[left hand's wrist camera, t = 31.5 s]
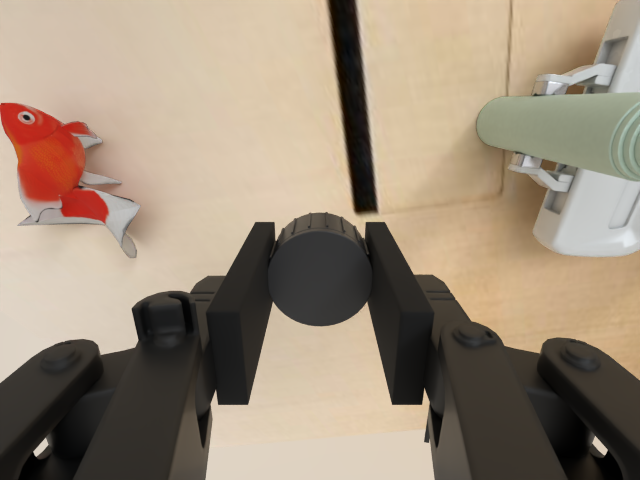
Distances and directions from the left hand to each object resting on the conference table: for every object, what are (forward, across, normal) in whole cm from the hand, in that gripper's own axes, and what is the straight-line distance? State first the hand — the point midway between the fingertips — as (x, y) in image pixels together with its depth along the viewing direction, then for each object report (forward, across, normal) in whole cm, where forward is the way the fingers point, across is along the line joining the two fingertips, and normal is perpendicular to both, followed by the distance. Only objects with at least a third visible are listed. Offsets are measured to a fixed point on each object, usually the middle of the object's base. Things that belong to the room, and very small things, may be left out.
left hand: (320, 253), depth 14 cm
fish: (+22, -22, -2) cm, 31 cm away
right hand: (+16, +16, +4) cm, 24 cm away
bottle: (+22, +17, +4) cm, 29 cm away
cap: (-2, 0, 0) cm, 2 cm away
